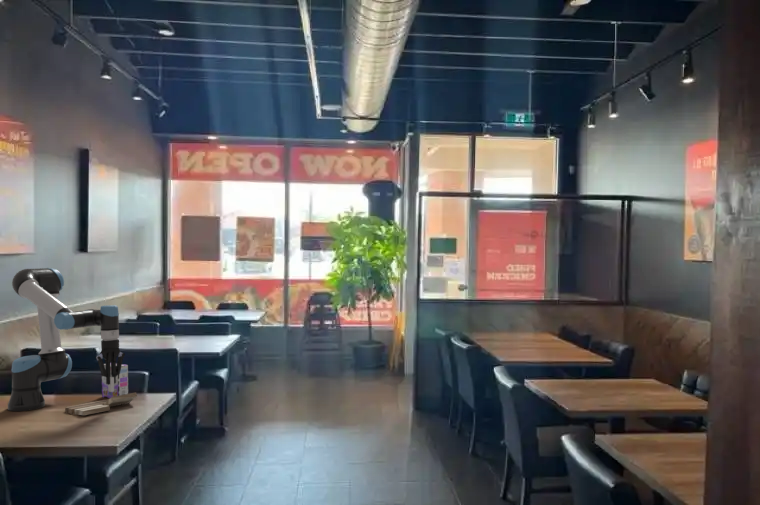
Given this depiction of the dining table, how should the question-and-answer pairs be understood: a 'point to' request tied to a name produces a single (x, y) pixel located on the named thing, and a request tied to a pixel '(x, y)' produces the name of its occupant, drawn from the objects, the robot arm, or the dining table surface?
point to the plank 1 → (92, 409)
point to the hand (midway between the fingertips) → (111, 391)
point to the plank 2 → (120, 399)
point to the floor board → (72, 408)
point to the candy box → (117, 383)
